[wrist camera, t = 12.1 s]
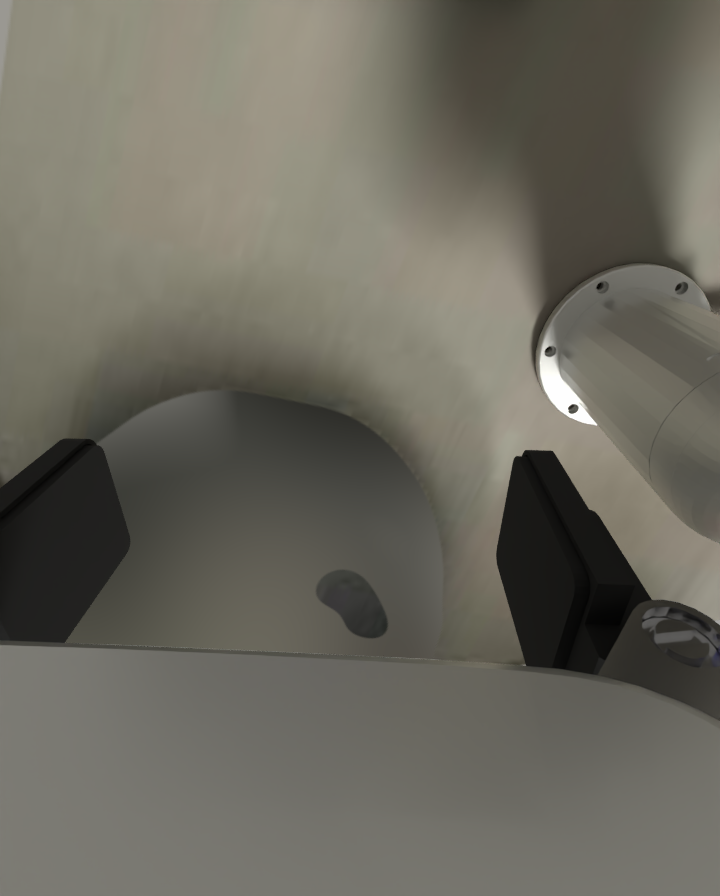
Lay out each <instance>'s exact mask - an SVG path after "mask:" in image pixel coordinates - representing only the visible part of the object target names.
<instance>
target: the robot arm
mask: <svg viewBox="0 0 720 896" xmlns="http://www.w3.org/2000/svg"><path fill="white" fill-rule="evenodd" d="M600 282H601V286H600V287H599V288H597V289H596V287H597V285H598V284H599V283H600ZM677 285H678V287H677V288H676V286H677ZM675 288H676V289H675ZM549 346H550V349H549V350H548V351H545V349H546V348H547V347H549ZM535 366H536V372H537V378H538V381H539V384H540V386H541V388H542V391H543V392H544V394H545V395H546V397H547V398H548V400H549V401H550V402H551V403H552V404H553V405H554V407H555V408H556V409H557V410H558V411H560V412H561V413H562V414H564V415H565V416H567V417H568V418H571V419H573V420H576V421H578V422H580V423H585V424H589V425H594V426H599V427H600V428H601V430H602V431H603V432H604V433H605V434H606V435H607V437H608V438H609V439H610V440H611V441H612V442H613V444H614V445H615V446H616V447H617V448H618V449H619V451H620V452H621V453H622V454H623V455H624V456H625V457H626V459H627V460H628V461H629V462H630V463H631V464H632V466H633V467H634V468H635V469H636V470H637V471H638V473H639V474H640V475H641V476H642V477H643V478H644V479H645V481H646V482H647V483H648V484H649V485H650V486H651V488H652V489H653V490H654V491H655V492H656V493H657V495H658V496H659V497H660V498H661V499H662V501H663V502H664V503H665V504H666V505H667V506H668V507H669V509H670V510H671V511H672V512H673V513H674V514H675V515H676V516H677V517H678V518H679V519H680V520H681V521H682V522H683V523H685V524H686V525H687V526H688V527H690V528H691V529H693V530H694V531H695V532H697V533H699V534H700V535H702V536H704V537H706V538H708V539H711V540H713V541H715V542H717V543H720V316H719V315H717V314H715V313H712V312H711V308H710V304H709V302H708V300H707V298H706V296H705V294H704V292H703V291H702V290H701V289H700V287H699V286H698V285H697V284H696V283H695V282H694V281H693V280H692V279H690V278H689V277H687V276H686V275H684V274H683V273H681V272H679V271H676V270H673V269H671V268H668V267H664V266H660V265H655V264H641V263H633V264H628V265H622V266H617V267H614V268H611V269H608V270H606V271H603V272H600V273H598V274H596V275H594V276H593V277H591V278H589V279H587V280H586V281H584V282H582V283H581V284H580V285H578V286H577V287H576V288H575V289H573V290H572V291H571V292H570V293H568V294H567V295H566V296H565V298H564V299H563V300H562V301H561V302H560V303H559V304H558V305H557V306H556V307H555V309H554V310H553V312H552V313H551V315H550V316H549V318H548V320H547V321H546V323H545V325H544V328H543V330H542V332H541V334H540V337H539V341H538V345H537V349H536V364H535ZM570 405H572V406H570ZM569 406H570V407H569ZM129 547H130V536H129V533H128V529H127V526H126V522H125V519H124V516H123V513H122V509H121V506H120V502H119V499H118V496H117V493H116V489H115V486H114V483H113V479H112V476H111V473H110V469H109V466H108V463H107V460H106V456H105V453H104V451H103V449H102V448H101V447H100V446H97V445H96V443H95V442H94V441H93V440H91V439H62V440H60V441H59V442H58V443H56V444H55V445H54V446H53V447H51V448H50V449H49V450H48V451H46V452H45V453H44V454H43V455H41V456H40V457H39V458H38V459H36V460H35V461H34V462H33V463H31V464H30V465H29V466H28V467H26V468H25V469H24V470H23V471H21V472H20V473H19V474H18V475H16V476H15V477H14V478H13V479H11V480H10V481H9V482H8V483H6V484H5V485H4V486H3V487H1V488H0V896H720V625H719V624H717V623H716V622H715V621H714V620H713V619H711V618H710V617H708V616H707V615H705V614H703V613H701V612H700V611H698V610H696V609H694V608H692V607H689V606H686V605H684V604H681V603H678V602H673V601H668V600H652V599H651V598H650V596H649V595H648V593H647V592H646V590H645V588H644V587H643V585H642V584H641V582H640V580H639V579H638V577H637V576H636V574H635V573H634V571H633V569H632V568H631V566H630V565H629V563H628V561H627V560H626V558H625V557H624V555H623V554H622V552H621V550H620V549H619V547H618V546H617V544H616V542H615V541H614V539H613V538H612V536H611V535H610V533H609V531H608V530H607V528H606V527H605V525H604V524H603V522H602V520H601V519H600V517H599V516H598V515H597V514H596V512H594V511H592V510H589V509H588V507H587V506H586V504H585V502H584V501H583V499H582V497H581V496H580V494H579V493H578V491H577V489H576V488H575V486H574V484H573V483H572V481H571V480H570V478H569V476H568V475H567V473H566V471H565V470H564V468H563V467H562V465H561V463H560V462H559V460H558V458H557V457H556V455H555V453H554V452H553V451H539V450H525V451H524V453H523V455H522V456H516V457H515V458H514V461H513V465H512V471H511V476H510V481H509V487H508V492H507V497H506V503H505V508H504V513H503V519H502V524H501V529H500V535H499V540H498V545H497V553H496V557H497V565H498V569H499V573H500V576H501V580H502V583H503V586H504V590H505V593H506V597H507V600H508V604H509V607H510V611H511V614H512V618H513V621H514V625H515V628H516V632H517V635H518V639H519V642H520V646H521V649H522V652H523V656H524V659H525V663H526V666H521V665H511V664H497V663H484V662H466V661H449V660H433V659H415V658H395V657H372V656H354V655H334V654H333V655H332V654H314V653H293V652H271V651H249V650H248V651H247V650H226V649H202V648H180V647H156V646H155V647H154V646H133V645H107V644H79V643H65V641H66V640H67V638H68V637H69V636H70V634H71V633H72V631H73V630H74V628H75V627H76V625H77V624H78V623H79V621H80V620H81V618H82V617H83V615H84V614H85V613H86V611H87V610H88V608H89V607H90V605H91V604H92V602H93V601H94V599H95V598H96V597H97V595H98V594H99V592H100V591H101V590H102V588H103V587H104V585H105V584H106V582H107V581H108V579H109V578H110V577H111V575H112V574H113V572H114V571H115V569H116V568H117V567H118V565H119V564H120V562H121V561H122V559H123V558H124V557H125V555H126V554H127V552H128V550H129Z"/></svg>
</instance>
